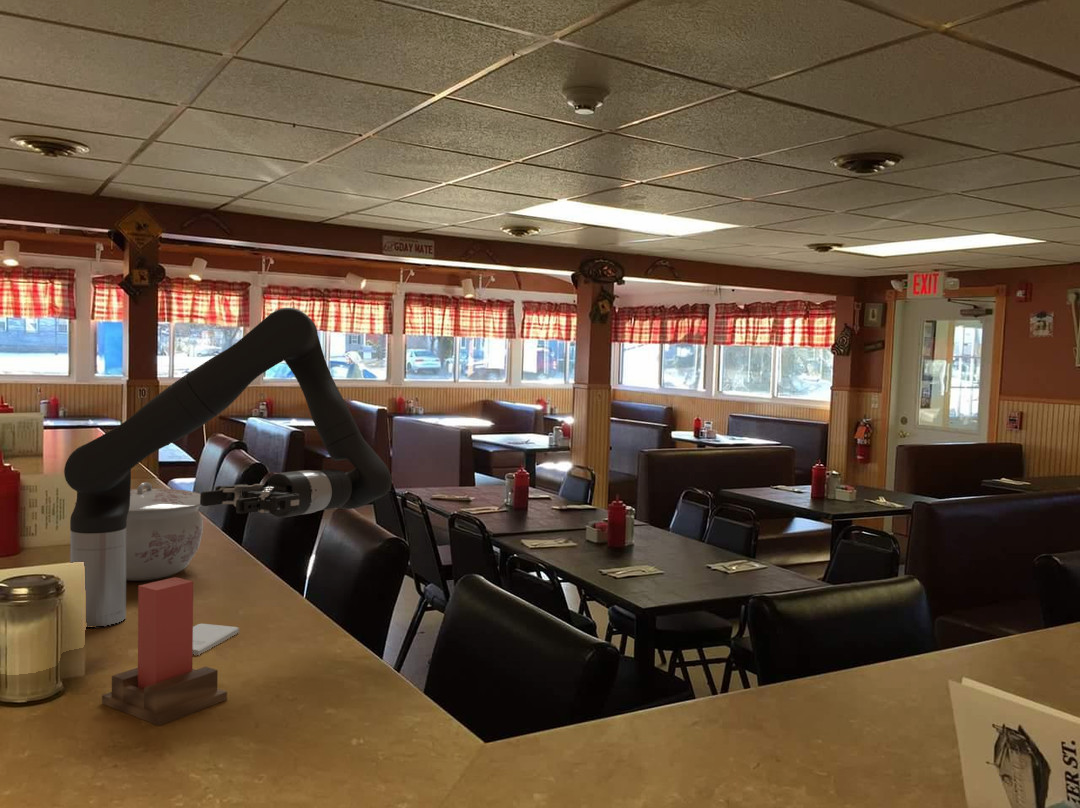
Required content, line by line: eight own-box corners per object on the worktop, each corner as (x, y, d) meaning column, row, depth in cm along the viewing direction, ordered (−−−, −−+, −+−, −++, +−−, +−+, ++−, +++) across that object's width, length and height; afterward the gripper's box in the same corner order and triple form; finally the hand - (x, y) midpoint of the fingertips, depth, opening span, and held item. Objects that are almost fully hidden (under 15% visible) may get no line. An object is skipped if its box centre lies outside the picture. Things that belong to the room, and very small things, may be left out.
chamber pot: (90, 597, 175) (90, 495, 174) (63, 568, 197) (63, 478, 195) (229, 578, 193) (230, 485, 192) (190, 554, 214) (191, 471, 213)
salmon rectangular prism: (137, 696, 123) (138, 585, 122) (174, 683, 128) (175, 577, 127) (155, 703, 121) (156, 590, 120) (192, 689, 126) (193, 581, 125)
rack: (102, 703, 123) (102, 674, 123) (170, 680, 133) (170, 653, 133) (159, 725, 117) (159, 695, 116) (226, 699, 126) (227, 671, 126)
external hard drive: (239, 636, 156) (198, 659, 144) (198, 631, 158) (154, 654, 146) (239, 627, 156) (198, 649, 144) (198, 623, 158) (154, 644, 145)
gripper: (270, 466, 153) (190, 473, 139) (329, 476, 145) (251, 484, 131) (268, 508, 153) (188, 520, 139) (327, 520, 146) (249, 533, 132)
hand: (219, 503), depth 135 cm, fingers open, 8 cm apart
